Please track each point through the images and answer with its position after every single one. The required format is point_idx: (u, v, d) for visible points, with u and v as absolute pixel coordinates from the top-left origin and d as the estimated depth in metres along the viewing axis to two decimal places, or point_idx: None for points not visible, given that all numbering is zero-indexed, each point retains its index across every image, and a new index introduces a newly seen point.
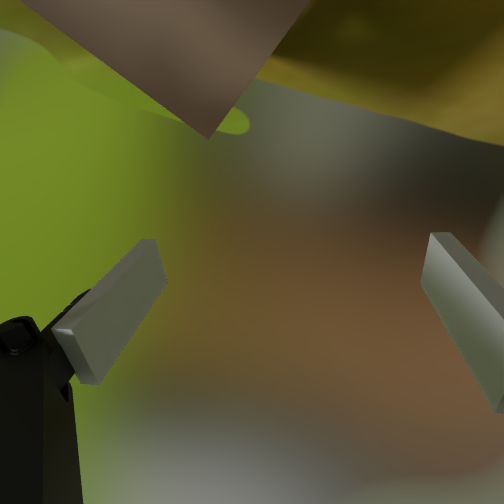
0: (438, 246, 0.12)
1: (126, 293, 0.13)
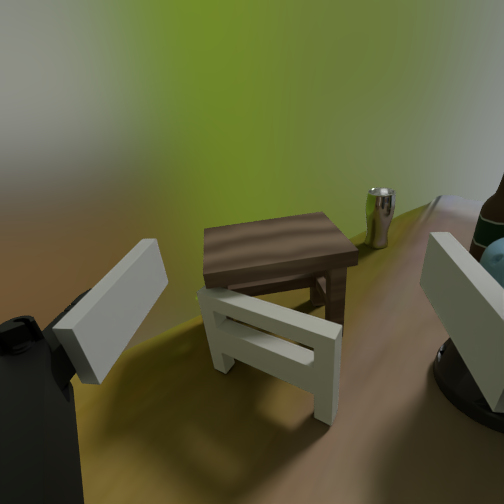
0: (437, 246, 0.12)
1: (127, 293, 0.13)
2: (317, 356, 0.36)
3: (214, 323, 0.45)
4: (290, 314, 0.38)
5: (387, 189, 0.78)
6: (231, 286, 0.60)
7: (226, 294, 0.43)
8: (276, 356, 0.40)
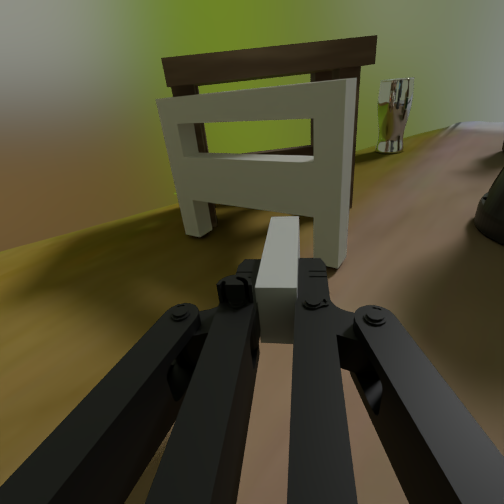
0: (283, 226, 0.16)
1: None
2: (318, 134, 0.24)
3: (180, 148, 0.34)
4: None
5: None
6: None
7: None
8: (261, 167, 0.29)
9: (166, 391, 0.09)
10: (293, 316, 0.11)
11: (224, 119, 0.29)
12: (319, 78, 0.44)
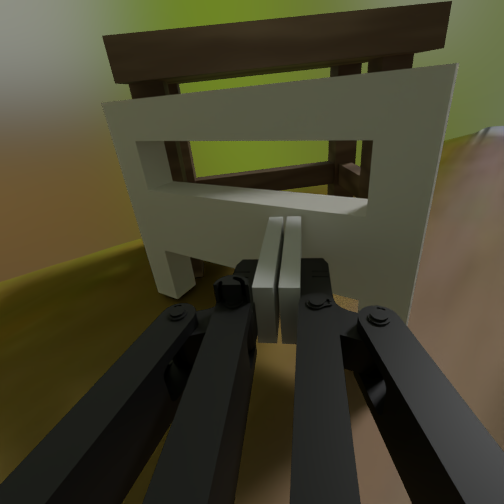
0: (286, 226, 0.16)
1: (279, 263, 0.14)
2: (381, 168, 0.13)
3: (143, 177, 0.22)
4: None
5: None
6: (201, 178, 0.37)
7: None
8: (270, 215, 0.17)
9: (163, 390, 0.09)
10: (296, 316, 0.11)
11: (208, 136, 0.17)
12: (344, 73, 0.32)
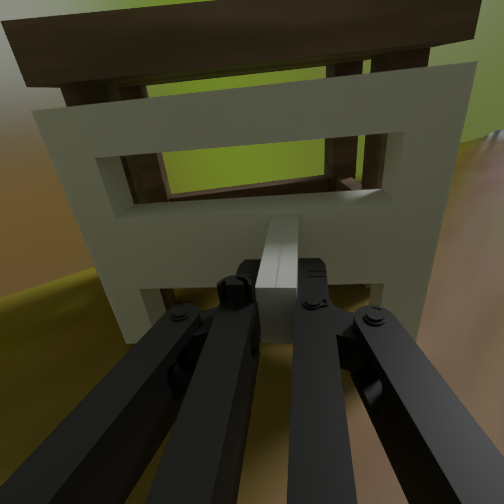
0: (283, 226, 0.16)
1: None
2: (411, 157, 0.14)
3: (107, 203, 0.17)
4: None
5: None
6: (176, 194, 0.32)
7: None
8: None
9: (166, 390, 0.09)
10: (293, 316, 0.11)
11: (213, 143, 0.15)
12: (342, 73, 0.27)
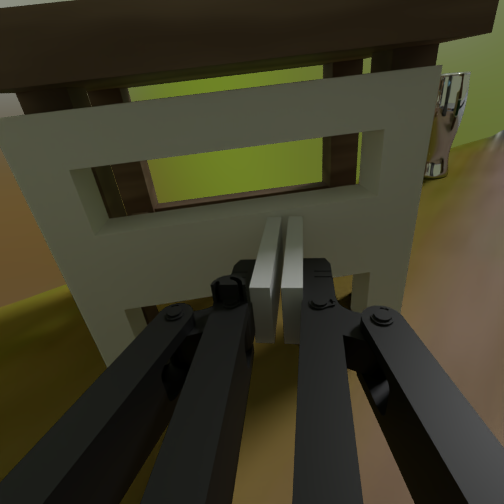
0: None
1: (277, 263, 0.14)
2: (390, 152, 0.16)
3: (84, 220, 0.16)
4: (303, 81, 0.15)
5: None
6: (163, 204, 0.30)
7: None
8: (285, 220, 0.17)
9: (161, 390, 0.09)
10: (299, 316, 0.11)
11: (204, 148, 0.15)
12: (340, 73, 0.25)
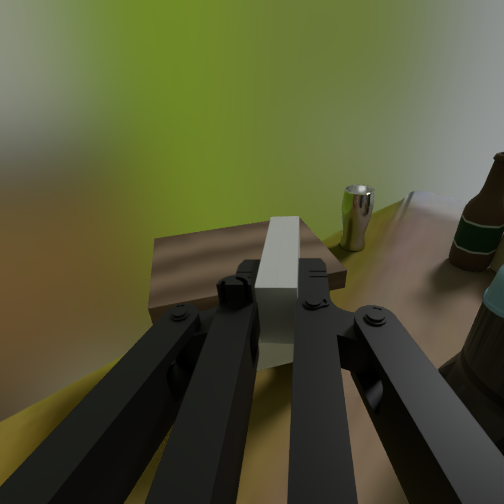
0: (284, 226, 0.16)
1: None
2: None
3: None
4: None
5: (365, 186, 0.71)
6: None
7: None
8: (269, 345, 0.39)
9: (166, 390, 0.09)
10: (293, 316, 0.11)
11: None
12: None
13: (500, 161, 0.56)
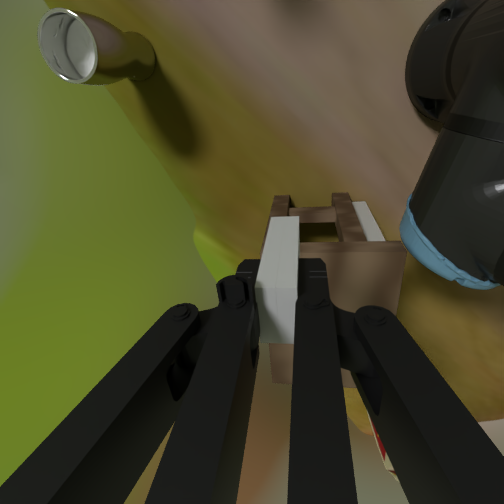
0: (284, 226, 0.16)
1: None
2: None
3: None
4: None
5: (45, 20, 0.31)
6: None
7: None
8: None
9: (166, 390, 0.09)
10: (293, 316, 0.11)
11: None
12: None
13: None
